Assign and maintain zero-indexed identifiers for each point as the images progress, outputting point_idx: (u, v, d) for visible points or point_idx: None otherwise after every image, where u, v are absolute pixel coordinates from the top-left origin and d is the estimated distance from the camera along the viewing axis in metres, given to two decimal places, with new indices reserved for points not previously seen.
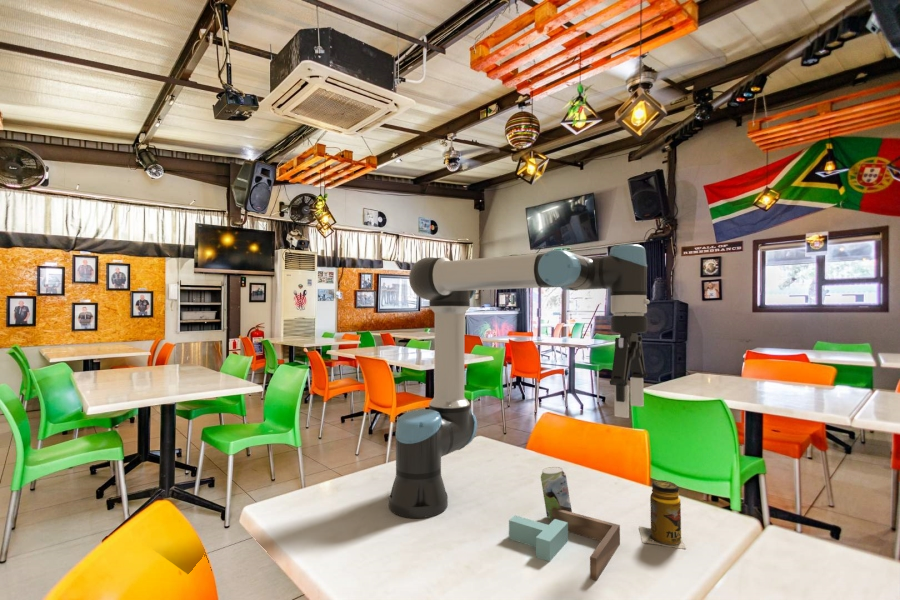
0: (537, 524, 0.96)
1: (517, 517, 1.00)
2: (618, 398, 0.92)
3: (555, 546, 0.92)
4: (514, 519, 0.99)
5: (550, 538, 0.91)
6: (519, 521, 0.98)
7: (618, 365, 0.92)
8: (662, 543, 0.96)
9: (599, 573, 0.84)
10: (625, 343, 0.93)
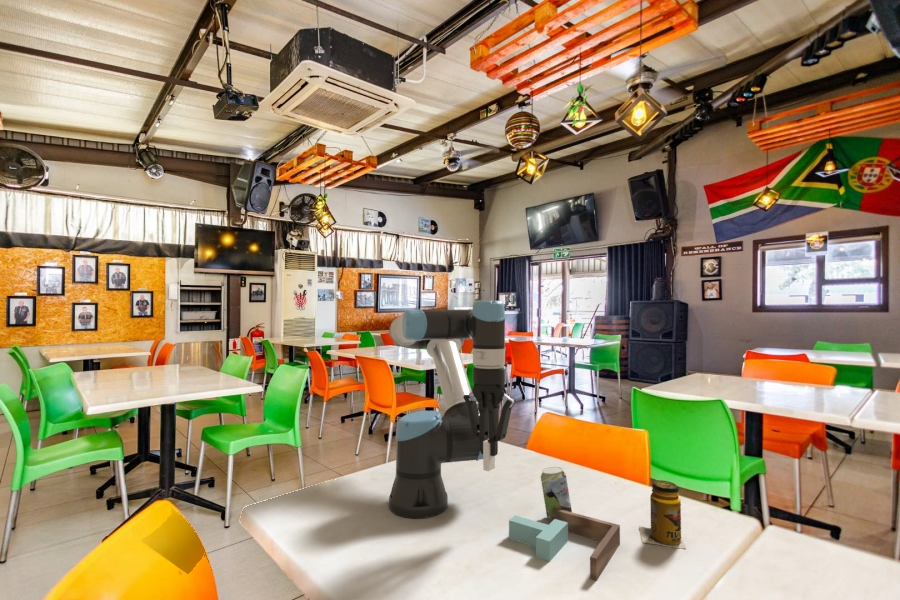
0: (537, 524, 0.97)
1: (517, 517, 1.00)
2: None
3: (555, 546, 0.92)
4: (514, 519, 0.99)
5: (550, 538, 0.91)
6: (519, 521, 0.98)
7: None
8: (662, 543, 0.96)
9: (599, 573, 0.84)
10: None
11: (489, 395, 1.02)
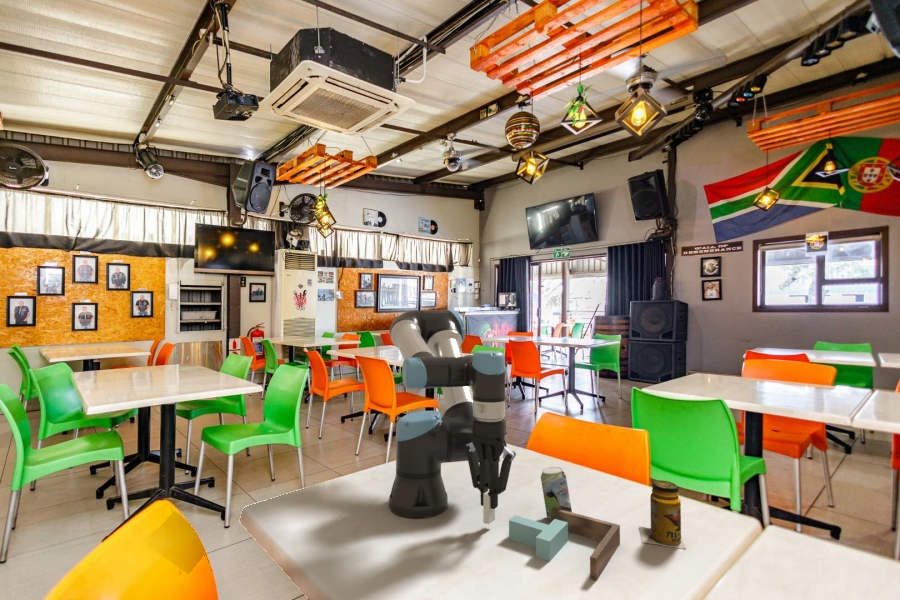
0: (537, 524, 0.96)
1: (517, 517, 1.00)
2: None
3: (555, 546, 0.92)
4: (514, 519, 0.99)
5: (550, 538, 0.91)
6: (519, 521, 0.98)
7: None
8: (662, 543, 0.96)
9: (599, 573, 0.84)
10: None
11: (489, 448, 1.01)
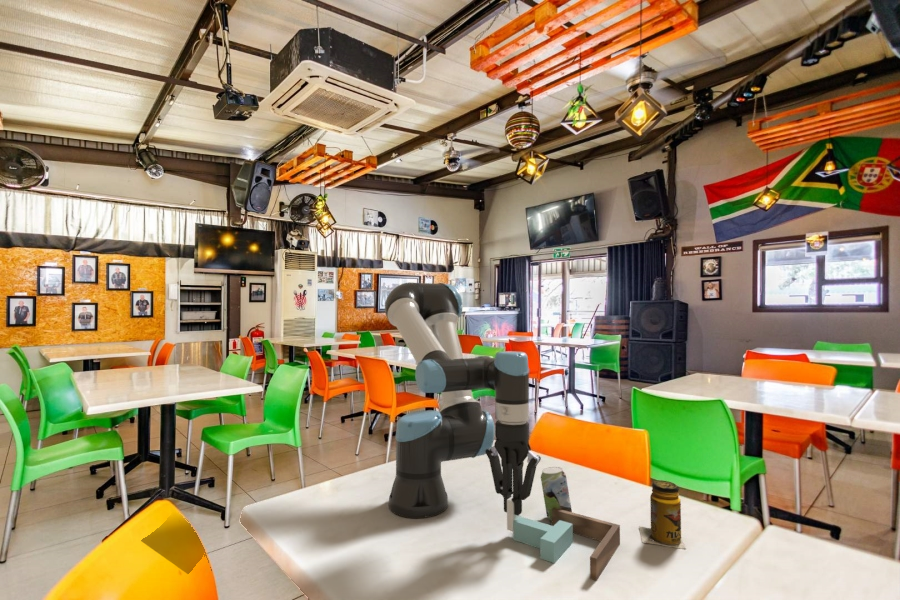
0: (542, 525, 0.96)
1: (521, 518, 0.99)
2: None
3: (560, 547, 0.91)
4: (518, 520, 0.98)
5: (555, 539, 0.90)
6: (523, 522, 0.97)
7: None
8: (662, 543, 0.96)
9: (599, 573, 0.84)
10: None
11: (513, 452, 0.98)
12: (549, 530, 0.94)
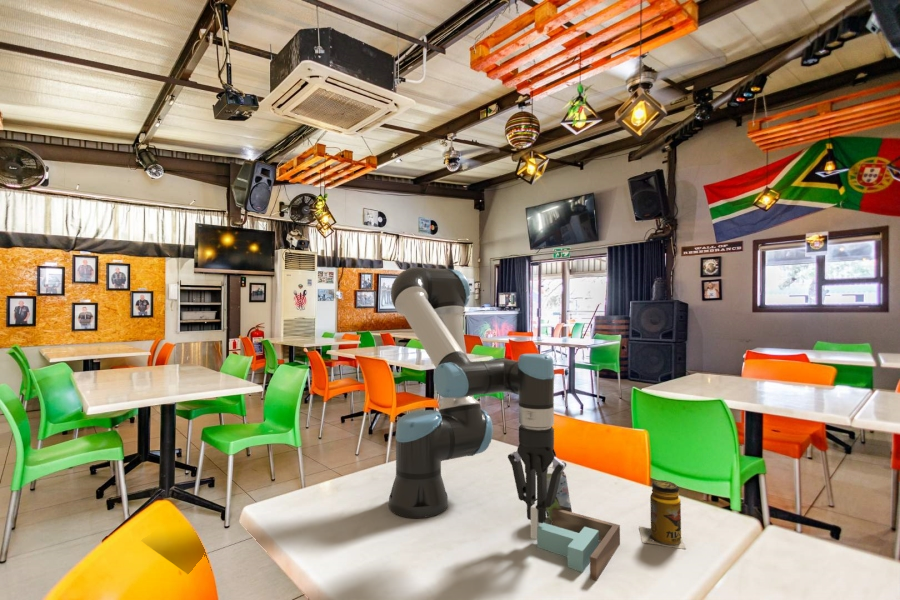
0: (567, 532, 0.93)
1: (545, 525, 0.96)
2: None
3: (588, 555, 0.88)
4: (542, 527, 0.95)
5: (582, 547, 0.87)
6: (548, 529, 0.94)
7: None
8: (662, 543, 0.96)
9: (599, 573, 0.84)
10: None
11: (538, 458, 0.94)
12: (575, 537, 0.91)
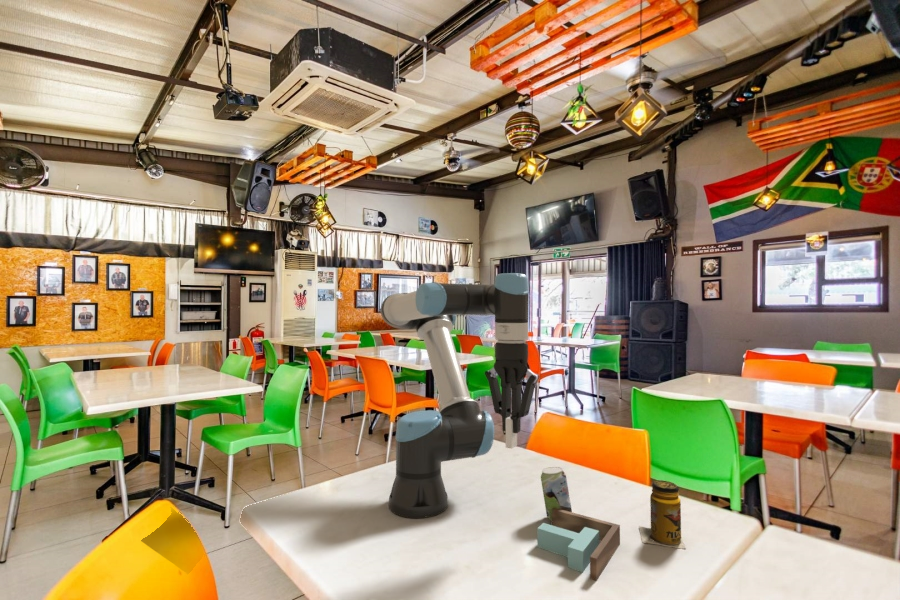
0: (567, 532, 0.93)
1: (545, 525, 0.96)
2: None
3: (588, 556, 0.88)
4: (543, 527, 0.95)
5: (583, 548, 0.87)
6: (548, 529, 0.94)
7: None
8: (662, 543, 0.96)
9: (599, 573, 0.84)
10: None
11: (512, 370, 0.99)
12: (575, 538, 0.91)
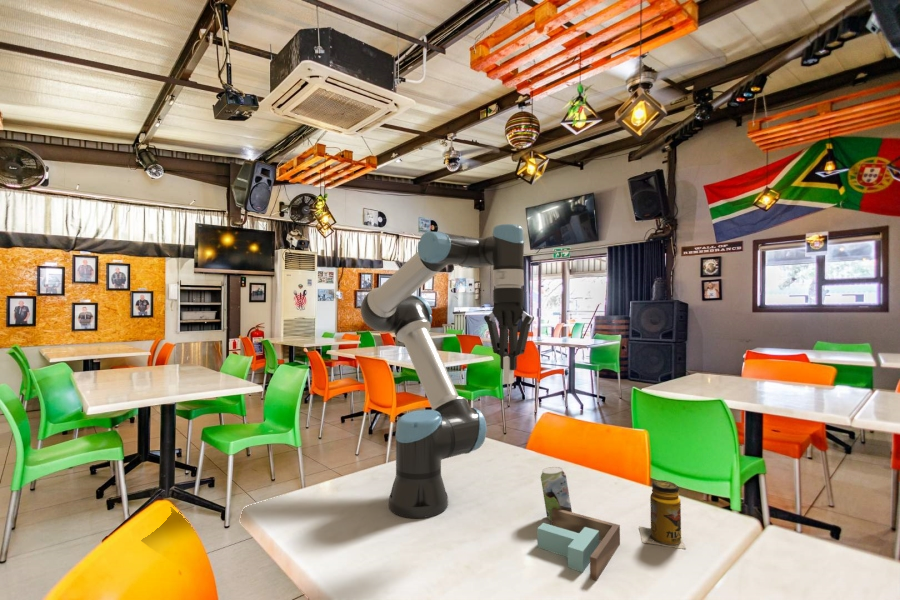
0: (567, 532, 0.93)
1: (545, 525, 0.96)
2: None
3: (588, 555, 0.88)
4: (543, 527, 0.95)
5: (583, 547, 0.87)
6: (548, 529, 0.94)
7: None
8: (662, 543, 0.96)
9: (599, 573, 0.84)
10: None
11: (509, 312, 1.08)
12: (575, 538, 0.91)
